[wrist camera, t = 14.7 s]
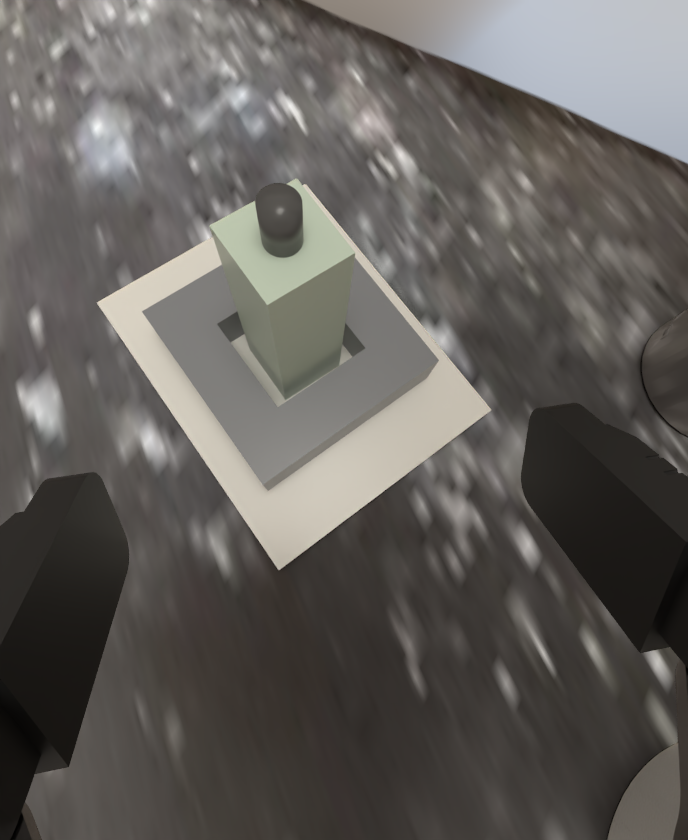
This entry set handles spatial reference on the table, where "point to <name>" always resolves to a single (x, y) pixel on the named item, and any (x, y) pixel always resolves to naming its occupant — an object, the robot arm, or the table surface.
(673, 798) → the roll of tape
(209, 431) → the plate
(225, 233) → the plug
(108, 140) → the table surface
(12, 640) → the robot arm
